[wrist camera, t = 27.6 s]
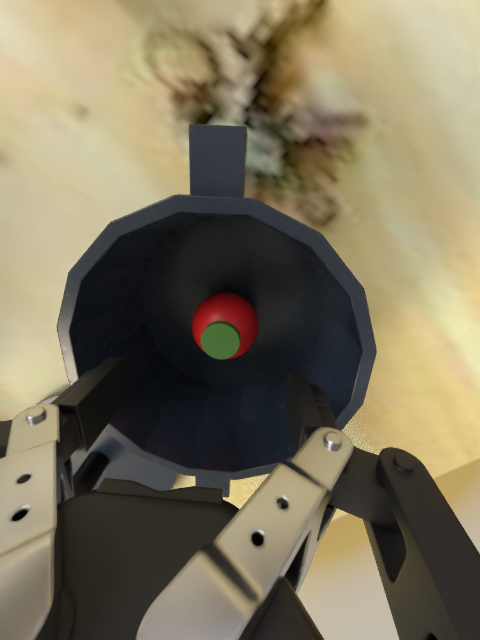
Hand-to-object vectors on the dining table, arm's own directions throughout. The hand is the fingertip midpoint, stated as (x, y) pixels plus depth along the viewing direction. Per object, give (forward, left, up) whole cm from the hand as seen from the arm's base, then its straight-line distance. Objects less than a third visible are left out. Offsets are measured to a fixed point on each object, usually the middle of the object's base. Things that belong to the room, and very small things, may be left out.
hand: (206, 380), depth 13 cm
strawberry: (0, 0, -10) cm, 10 cm away
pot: (0, 0, -11) cm, 11 cm away
